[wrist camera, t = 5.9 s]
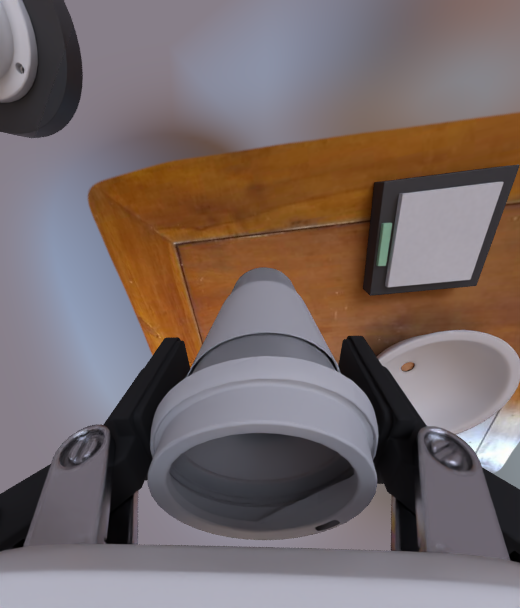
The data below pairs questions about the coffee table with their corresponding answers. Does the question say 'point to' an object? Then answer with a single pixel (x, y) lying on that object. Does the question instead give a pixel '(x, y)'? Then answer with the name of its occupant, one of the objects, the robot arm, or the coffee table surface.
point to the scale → (434, 229)
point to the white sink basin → (455, 376)
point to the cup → (264, 425)
